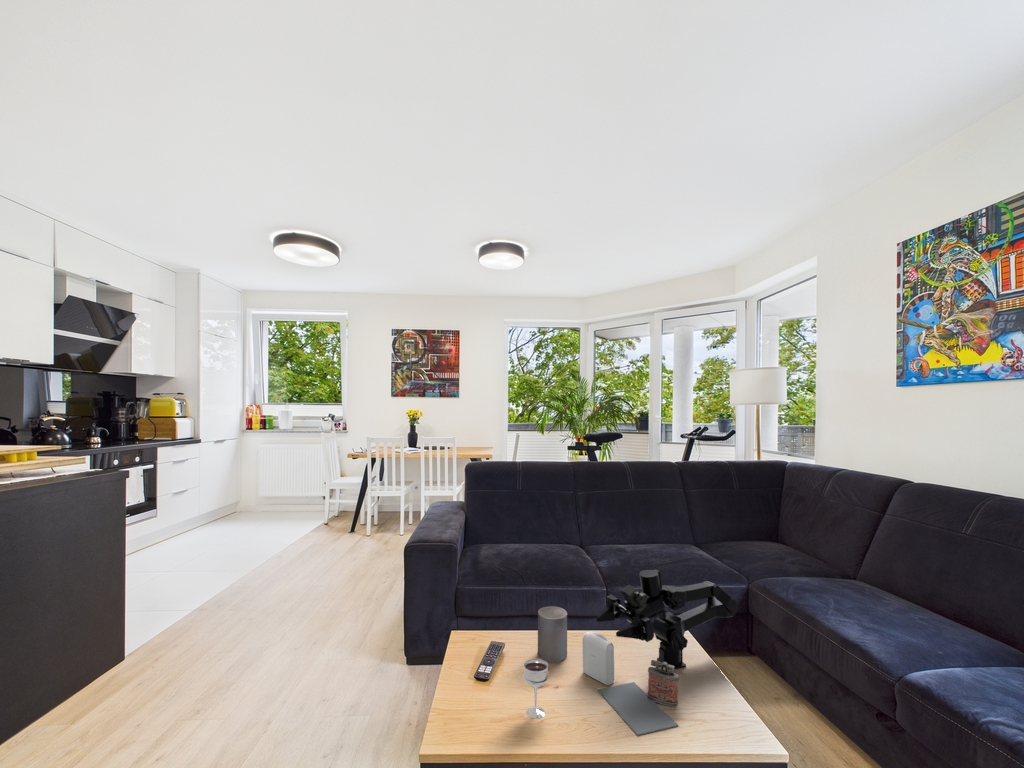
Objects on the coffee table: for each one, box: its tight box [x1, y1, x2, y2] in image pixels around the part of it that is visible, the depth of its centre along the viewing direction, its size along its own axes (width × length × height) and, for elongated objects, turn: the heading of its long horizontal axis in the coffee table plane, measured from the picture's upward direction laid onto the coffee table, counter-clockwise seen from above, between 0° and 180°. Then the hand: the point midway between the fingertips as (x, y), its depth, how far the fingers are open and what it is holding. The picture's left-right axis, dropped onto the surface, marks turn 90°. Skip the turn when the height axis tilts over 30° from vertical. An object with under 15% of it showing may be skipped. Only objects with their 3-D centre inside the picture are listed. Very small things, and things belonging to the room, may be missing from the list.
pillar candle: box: [537, 605, 568, 663], centre depth 153 cm, size 10×10×15 cm
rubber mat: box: [597, 681, 679, 737], centre depth 126 cm, size 12×20×1 cm, turn 18°
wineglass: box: [522, 658, 550, 719], centre depth 124 cm, size 7×7×12 cm
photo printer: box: [582, 631, 615, 686], centre depth 140 cm, size 10×4×12 cm, turn 39°
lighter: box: [646, 659, 680, 708], centre depth 129 cm, size 8×3×10 cm, turn 65°
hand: (606, 627), depth 138 cm, fingers open, 9 cm apart
